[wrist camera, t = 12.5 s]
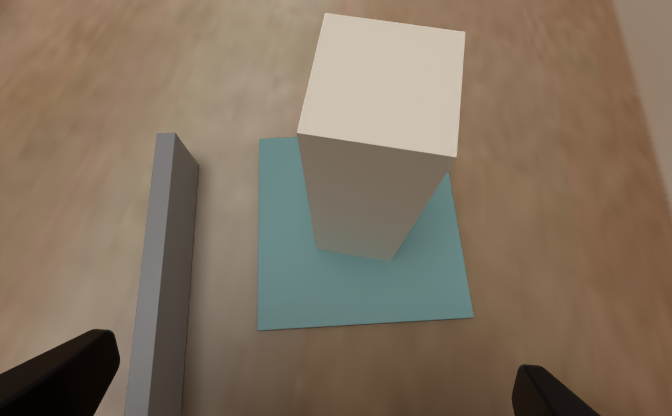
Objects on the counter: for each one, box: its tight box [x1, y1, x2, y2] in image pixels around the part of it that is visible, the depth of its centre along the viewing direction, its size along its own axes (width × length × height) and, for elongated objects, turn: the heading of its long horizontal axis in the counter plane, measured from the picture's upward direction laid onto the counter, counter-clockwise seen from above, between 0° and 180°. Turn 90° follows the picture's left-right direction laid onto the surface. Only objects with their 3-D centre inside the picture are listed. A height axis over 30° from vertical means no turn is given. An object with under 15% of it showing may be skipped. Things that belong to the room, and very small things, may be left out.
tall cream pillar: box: [297, 13, 465, 261], centre depth 17 cm, size 4×4×13 cm
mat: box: [258, 137, 474, 331], centre depth 24 cm, size 12×12×1 cm
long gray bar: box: [124, 133, 199, 416], centre depth 21 cm, size 15×1×4 cm, turn 3°
